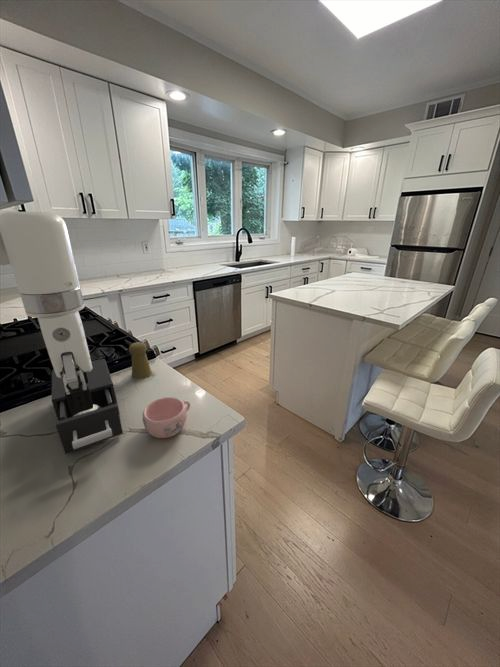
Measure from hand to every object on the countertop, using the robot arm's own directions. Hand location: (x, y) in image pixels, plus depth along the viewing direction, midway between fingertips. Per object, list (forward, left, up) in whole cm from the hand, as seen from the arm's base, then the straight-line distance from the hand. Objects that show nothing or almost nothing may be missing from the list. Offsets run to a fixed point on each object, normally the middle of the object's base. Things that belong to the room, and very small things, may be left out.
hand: (80, 396), depth 49 cm
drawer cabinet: (0, +24, -18) cm, 30 cm away
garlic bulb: (-1, +13, -16) cm, 21 cm away
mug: (+16, +5, -18) cm, 25 cm away
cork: (+16, +34, -18) cm, 42 cm away
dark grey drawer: (0, +13, -17) cm, 21 cm away
